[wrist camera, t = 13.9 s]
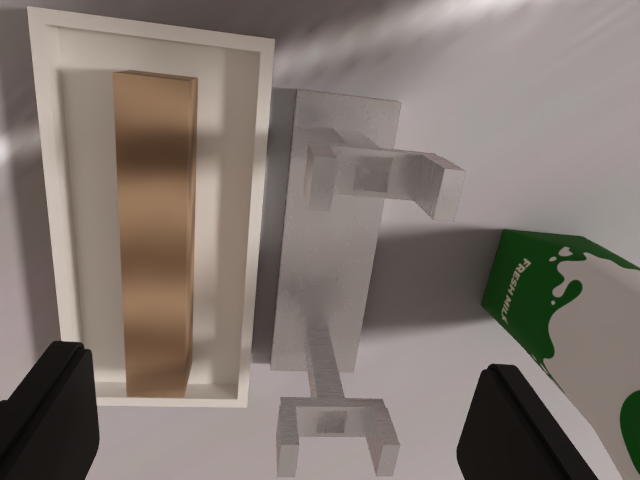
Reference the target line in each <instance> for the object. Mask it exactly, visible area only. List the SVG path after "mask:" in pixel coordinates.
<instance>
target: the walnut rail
mask: <svg viewBox="0 0 640 480" xmlns="http://www.w3.org/2000/svg"><path fill="white" fill-rule="evenodd" d="M113 94H114V117H115V140H116V163H117V186H118V209H119V232H120V255H121V278H122V301H123V323H124V346H125V369H126V392H127V397H171V398H184V396H185V392H186V388H187V383H188V379H189V375H190V370H191V366H192V345H193V297H194V249H195V201H196V154H197V106H198V78H196V77H187V76H179V75H170V74H162V73H153V72H145V71H136V70H128V71H120V72H113Z"/></svg>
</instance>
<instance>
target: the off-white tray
mask: <svg viewBox="0 0 640 480" xmlns="http://www.w3.org/2000/svg"><path fill="white" fill-rule="evenodd" d="M27 13H28V23H29V32H30V42H31V52H32V61H33V71H34V81H35V91H36V100H37V110H38V120H39V129H40V139H41V149H42V158H43V168H44V178H45V188H46V197H47V207H48V217H49V226H50V236H51V246H52V255H53V265H54V275H55V284H56V294H57V304H58V314H59V323H60V333H61V341H68V342H81V343H83V345H84V348H85V349H90V350H91V351H92V357H93V368H94V379H95V391H96V402H97V405H98V406H172V407H245V408H247V400H248V387H249V374H250V361H251V348H252V335H253V322H254V309H255V296H256V283H257V270H258V257H259V244H260V231H261V218H262V205H263V192H264V179H265V166H266V153H267V140H268V127H269V114H270V101H271V88H272V75H273V62H274V49H275V39H270V38H262V37H255V36H247V35H240V34H232V33H225V32H217V31H210V30H203V29H195V28H188V27H180V26H173V25H165V24H158V23H150V22H143V21H135V20H128V19H120V18H113V17H105V16H98V15H91V14H83V13H76V12H68V11H61V10H53V9H46V8H38V7H31V6H27ZM128 70H136V71H145V72H153V73H162V74H170V75H179V76H187V77H196V78H198V106H197V154H196V201H195V249H194V297H193V345H192V366H191V370H190V375H189V379H188V383H187V388H186V392H185V396H184V398H171V397H127V392H126V369H125V346H124V323H123V301H122V278H121V255H120V232H119V209H118V186H117V163H116V140H115V117H114V94H113V72H120V71H128Z"/></svg>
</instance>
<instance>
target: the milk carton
mask: <svg viewBox="0 0 640 480" xmlns="http://www.w3.org/2000/svg"><path fill="white" fill-rule="evenodd" d="M481 306H482V307H483V308H484V309H485V310H486V311H487V312H488V313H489V314H490V315H491V316H492V317H493V318H494V319H495V320H496V321H497V322H498V323H499V324H500V325H501V326H502V327H503V328H504V329H505V330H506V331H507V332H508V333H509V334H510V335H511V336H512V337H513V338H514V339H515V340H516V341H517V342H518V343H519V344H520V345H521V346H522V347H523V348H524V349H525V350H526V351H527V353H528V354H529V355H530V356H531V357H532V358H533V359H534V361H535V362H536V363H537V364H538V365H539V366H540V367H541V368H542V370H543V371H544V372H545V373H546V374H547V375H548V376H549V378H550V379H551V380H552V381H553V382H554V383H555V384H556V386H557V387H558V388H559V389H560V390H561V391H562V392H563V393H564V395H565V396H566V397H567V398H568V399H569V400H570V401H571V403H572V404H573V405H574V406H575V407H576V408H577V409H578V411H579V412H580V413H581V414H582V415H583V416H584V417H585V419H586V420H587V421H588V422H589V423H590V424H591V426H592V427H593V428H594V430H595V431H596V433H597V435H598V436H599V438H600V440H601V442H602V443H603V445H604V447H605V449H606V450H607V452H608V454H609V456H610V457H611V459H612V461H613V463H614V464H615V466H616V468H617V470H618V471H619V473H620V475H621V477H622V478H623V480H640V268H639V267H637V266H635V265H634V264H632V263H630V262H628V261H627V260H625V259H623V258H621V257H620V256H618V255H616V254H614V253H612V252H610V251H609V250H607V249H605V248H603V247H601V246H600V245H598V244H596V243H594V242H592V241H590V240H588V239H586V238H585V237H581V236H570V235H559V234H548V233H537V232H526V231H516V230H505V229H504V230H503V234H502V237H501V240H500V244H499V247H498V250H497V254H496V257H495V260H494V264H493V267H492V270H491V274H490V277H489V281H488V284H487V287H486V291H485V294H484V297H483V301H482V304H481Z"/></svg>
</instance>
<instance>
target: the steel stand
mask: <svg viewBox="0 0 640 480" xmlns="http://www.w3.org/2000/svg"><path fill="white" fill-rule="evenodd" d="M401 105H402V103H401V102H398V101H393V100H384V99H376V98H368V97H359V96H351V95H342V94H334V93H325V92H317V91H309V90H300V89H296V98H295V109H294V119H293V129H292V140H291V150H290V161H289V171H288V181H287V192H286V202H285V213H284V223H283V234H282V244H281V254H280V265H279V275H278V286H277V296H276V306H275V317H274V327H273V338H272V348H271V359H270V370H276V371H308V378H309V386H310V393H311V398H304V397H281V398H280V406H279V414H278V424H277V433H276V449H277V477H295V473H296V465H297V458H298V450H299V437H366V440H367V443H368V447H369V451H370V455H371V458H372V462H373V466H374V470H375V473H376V476H393V473H394V469H395V464H396V460H397V456H398V452H399V448H400V443H399V441H398V438H397V435H396V432H395V429H394V426H393V423H392V420H391V418H390V415H389V412H388V409H387V408H385V405H384V402H383V399H362V398H345V397H344V393H343V389H342V384H341V380H340V376H339V372H353V373H354V368H355V362H356V357H357V351H358V346H359V340H360V334H361V329H362V323H363V318H364V312H365V306H366V301H367V295H368V290H369V284H370V278H371V273H372V267H373V262H374V256H375V250H376V245H377V239H378V234H379V228H380V222H381V217H382V211H383V205H384V200H385V198H388V199H400V200H412V201H415V202H416V203H417V204H418V205H419V206H420V207H421V208H422V209H423V210H424V211H425V212H426V213H427V214H428V215H429V216H430V217H431V218H432V219H433V220H439V221H452V222H454V219H455V215H456V211H457V207H458V202H459V198H460V194H461V190H462V186H463V182H464V178H465V173H466V171H465V170H464V169H462V168H460V167H459V166H457V165H455V164H453V163H452V162H450V161H448V160H447V159H445V158H443V157H440V156H438V155H436V154H435V153H426V152H416V151H406V150H396V149H394V144H395V138H396V133H397V127H398V121H399V116H400V110H401Z"/></svg>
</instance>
